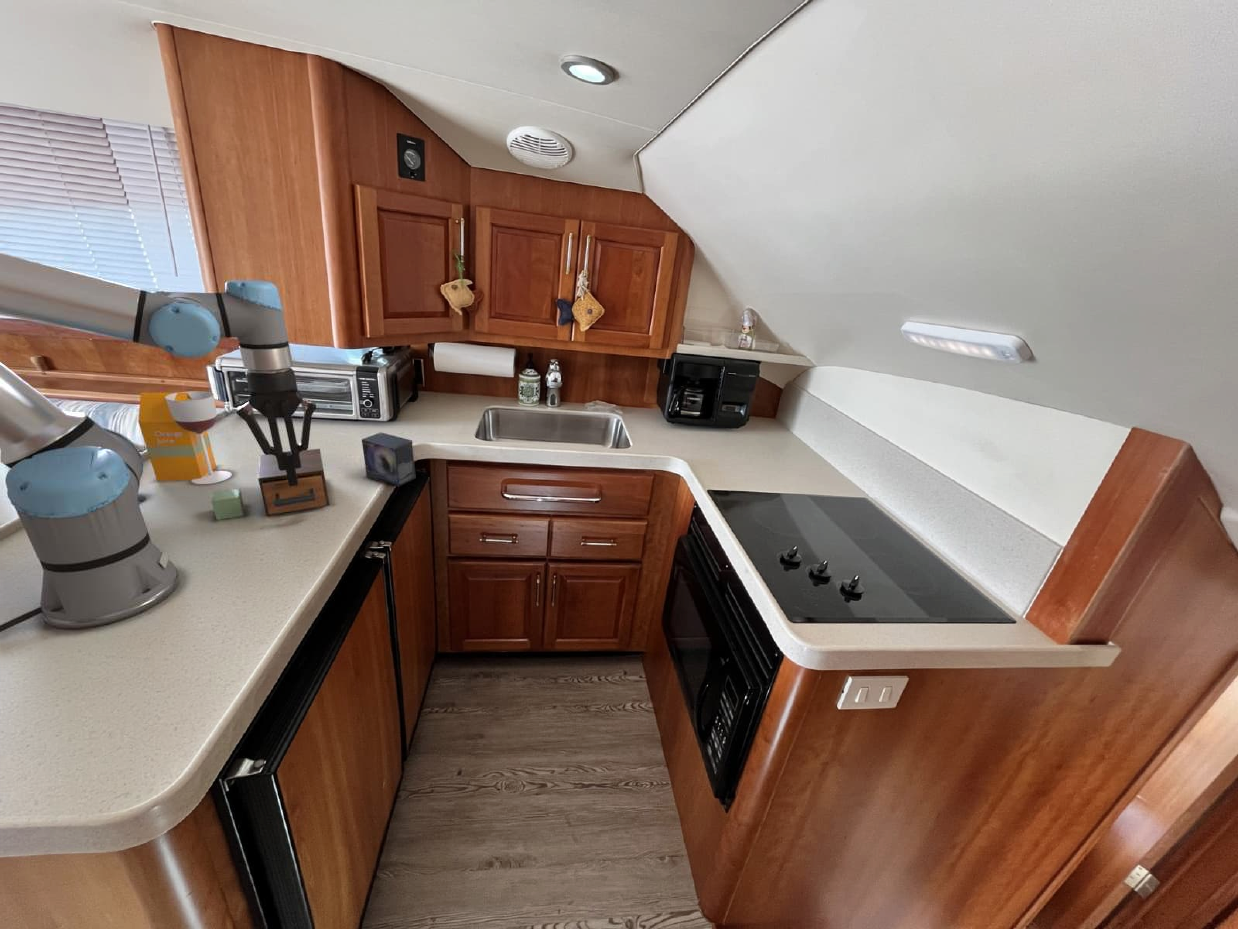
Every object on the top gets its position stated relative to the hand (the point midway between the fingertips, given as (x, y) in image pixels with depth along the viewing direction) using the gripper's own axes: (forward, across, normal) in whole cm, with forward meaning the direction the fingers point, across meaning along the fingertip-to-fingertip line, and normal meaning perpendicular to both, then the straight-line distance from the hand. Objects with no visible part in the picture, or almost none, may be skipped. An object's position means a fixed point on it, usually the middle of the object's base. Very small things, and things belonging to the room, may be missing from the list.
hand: (293, 483), depth 100 cm
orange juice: (+8, +22, -33) cm, 41 cm away
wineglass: (+8, +17, -29) cm, 35 cm away
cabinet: (+8, 0, -10) cm, 13 cm away
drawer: (+7, 0, -6) cm, 9 cm away
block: (+8, +12, -7) cm, 16 cm away
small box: (+8, -20, -13) cm, 25 cm away
